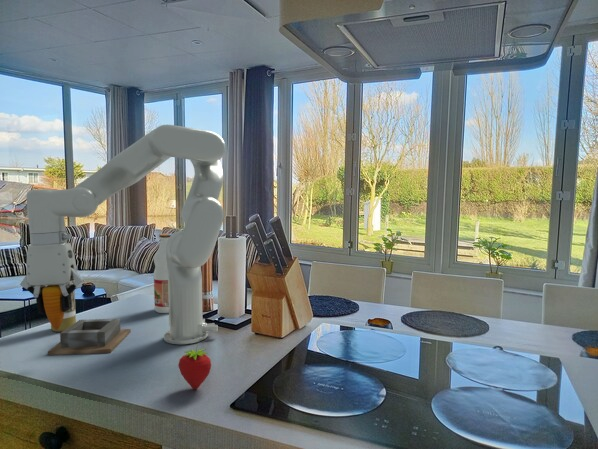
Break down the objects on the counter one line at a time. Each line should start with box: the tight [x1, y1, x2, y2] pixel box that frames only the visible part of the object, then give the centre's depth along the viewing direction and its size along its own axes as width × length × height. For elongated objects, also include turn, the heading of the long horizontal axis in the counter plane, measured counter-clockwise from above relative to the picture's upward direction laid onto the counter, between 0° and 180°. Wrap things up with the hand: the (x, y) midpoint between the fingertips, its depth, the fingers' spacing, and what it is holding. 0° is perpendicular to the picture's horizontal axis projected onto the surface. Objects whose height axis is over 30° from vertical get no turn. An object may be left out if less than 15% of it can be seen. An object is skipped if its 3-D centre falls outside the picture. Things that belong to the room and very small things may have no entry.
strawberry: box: [177, 342, 212, 390], centre depth 87 cm, size 6×8×10 cm
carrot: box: [42, 285, 64, 330], centre depth 100 cm, size 5×5×15 cm
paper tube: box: [50, 248, 77, 333], centre depth 125 cm, size 7×7×25 cm
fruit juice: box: [153, 232, 173, 314], centre depth 145 cm, size 9×9×28 cm
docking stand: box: [47, 318, 131, 356], centre depth 114 cm, size 16×16×5 cm
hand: (55, 310), depth 100 cm, fingers closed on carrot, 4 cm apart
